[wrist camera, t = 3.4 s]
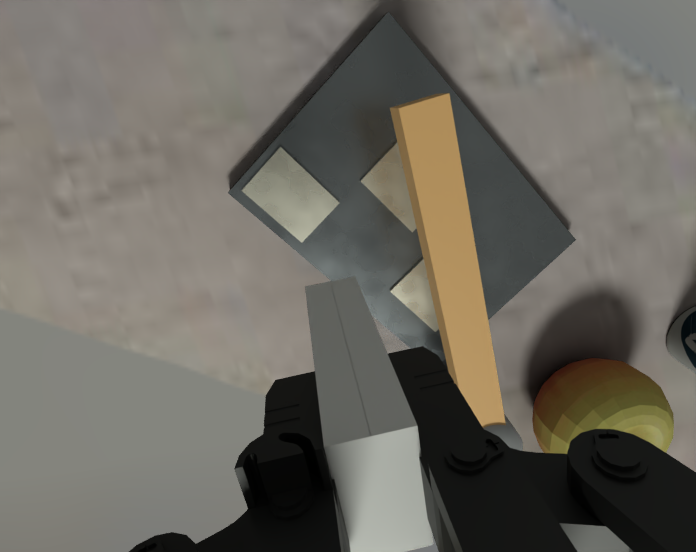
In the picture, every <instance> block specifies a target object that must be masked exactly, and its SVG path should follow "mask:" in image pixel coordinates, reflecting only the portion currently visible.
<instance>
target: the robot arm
mask: <svg viewBox="0 0 696 552" xmlns="http://www.w3.org/2000/svg"><path fill="white" fill-rule="evenodd" d="M305 290H306V299H307V307H308V316H309V324H310V333H311V341H312V350H313V358H314V367H315V371H314V372H310V373H305V374H301V375H296V376H292V377H287V378H283V379H278V380H275V382H274V383H273V385H272V387H271V388H270V390H269V391H268V393H267V395H266V402H265V418H264V427H265V428H264V434H263V435H262V436H260V437H258V438H257V439H255V440H254V441H252V442H251V443H250V444H249V445H248V446H247V447H246V448H245V450H244V451H243V452H242V453H241V454H240V455H239V458H238V460H237V463H236V466H235V472H236V475H237V478H238V481H239V484H240V486H241V489H242V492H243V495H244V498H245V501H246V503H247V507H248V510H247V511H246V512H245V513H244V514H243V515H242V516H241V517H240V518H239V519H237V520H236V521H235V522H234V523H232V524H231V525H229V526H228V527H226V528H224V529H223V530H221V531H219V532H217V533H215V534H214V535H212V536H210V537H208V538H206V539H205V540H202V541H201V542H199V543H197V544H195V543H194V542H193V541H192V540H191V539H190V538H189V537H188V536H187V535H183V534H178V533H172V532H171V533H166V534H162V535H157V536H154V537H152V538H150V539H148V540H146V541H144V542H142V543H140V544H138V545H136V546H135V547H134V548H133V549H132V550H130V551H129V552H406V551H410V550H414V549H418V548H422V547H426V546H430V545H433V537H432V533H433V536H434V539H435V541H436V545H437V547H438V550H439V552H696V472H694V471H693V470H691V469H690V468H688V467H687V466H685V465H683V464H682V463H680V462H679V461H677V460H676V459H674V458H673V457H671V456H670V455H668V454H667V453H665V452H664V451H662V450H661V449H659V448H658V447H656V446H655V445H653V444H652V443H650V442H648V441H646V440H644V439H642V438H640V437H638V436H636V435H634V434H631V433H627V432H623V431H619V430H615V429H593V430H589V431H586V432H582V433H580V434H579V435H577V436H576V437H575V438H574V439H573V440H571V442H570V445H569V448H568V452H567V454H563V453H534V452H526V451H520V450H517V449H513V448H510V447H509V446H508V445H507V444H506V443H505V442H504V441H503V440H502V439H501V438H500V437H499V436H497V435H495V434H493V433H491V432H489V431H487V430H484V429H483V427H482V426H481V424H480V422H479V421H478V419H477V417H476V416H475V414H474V413H473V411H472V409H471V408H470V406H469V404H468V403H467V401H466V400H465V398H464V396H463V395H462V393H461V391H460V390H459V388H458V387H457V385H456V384H455V383H454V380H453V378H452V377H451V375H450V374H449V372H447V369H446V367H445V365H444V364H443V362H442V361H441V359H440V357H439V356H438V355H437V354H435V353H433V352H432V351H430V350H428V349H427V348H425V347H424V346H421V347H417V348H412V349H407V350H403V351H398V352H394V353H389V354H387V351H386V349H385V346H384V344H383V342H382V339H381V337H380V334H379V332H378V330H377V327H376V325H375V322H374V320H373V318H372V315H371V313H370V310H369V308H368V306H367V303H366V301H365V298H364V296H363V294H362V291H361V289H360V286H359V284H358V282H357V279H356V277H355V276H354V277H349V278H344V279H340V280H335V281H330V282H325V283H320V284H315V285H311V286H306V287H305Z"/></svg>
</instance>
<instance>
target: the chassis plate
mask: <svg viewBox="0 0 696 552" xmlns="http://www.w3.org/2000/svg"><path fill="white" fill-rule="evenodd" d="M441 93H449V94H450V100H451V106H452V112H453V118H454V123H455V129H456V135H457V141H458V147H459V153H460V159H461V165H462V170H463V176H464V182H465V188H466V194H467V200H468V206H469V211H470V217H471V223H472V229H473V235H474V241H475V247H476V253H477V258H478V264H479V270H480V276H481V282H482V288H483V294H484V300H485V305H486V311H487V317H488V320H489V319H490V318H491V317H492V316H493V315H494V314H495V313H496V312H497V311H499V310H500V309H501V308H502V307H503V306H504V305H505V304H506V303H507V302H508V301H509V300H511V299H512V298H513V297H514V296H515V295H516V294H517V293H518V292H519V291H520V290H522V289H523V288H524V287H525V286H526V285H527V284H528V283H529V282H530V281H531V280H532V279H534V278H535V277H536V276H537V275H538V274H539V273H540V272H541V271H542V270H543V269H545V268H546V267H547V266H548V265H549V264H550V263H551V262H552V261H553V260H554V259H556V258H557V257H558V256H559V255H560V254H561V253H562V252H563V251H564V250H565V249H566V248H568V247H569V246H570V245H571V244H572V243H573V242H574V241H575V240H576V239H575V238H574V237H573V236H572V234H571V233H570V232H569V231H568V230H567V228H566V227H565V226H564V225H563V224H562V222H561V221H560V220H559V219H558V217H557V216H556V215H555V214H554V213H553V211H552V210H551V209H550V208H549V207H548V205H547V204H546V203H545V202H544V200H543V199H542V198H541V197H540V196H539V194H538V193H537V192H536V191H535V189H534V188H533V187H532V186H531V185H530V183H529V182H528V181H527V180H526V179H525V177H524V176H523V175H522V174H521V172H520V171H519V170H518V169H517V168H516V166H515V165H514V164H513V163H512V161H511V160H510V159H509V158H508V157H507V155H506V154H505V153H504V152H503V151H502V149H501V148H500V147H499V146H498V144H497V143H496V142H495V141H494V140H493V138H492V137H491V136H490V135H489V133H488V132H487V131H486V130H485V129H484V127H483V126H482V125H481V124H480V123H479V121H478V120H477V119H476V118H475V116H474V115H473V114H472V113H471V112H470V110H469V109H468V108H467V107H466V106H465V104H464V103H463V102H462V101H461V99H460V98H459V97H458V96H457V95H456V93H455V92H454V91H453V90H452V88H451V87H450V86H449V85H448V84H447V82H446V81H445V80H444V79H443V78H442V76H441V75H440V74H439V73H438V71H437V70H436V69H435V68H434V67H433V65H432V64H431V63H430V62H429V60H428V59H427V58H426V57H425V56H424V54H423V53H422V52H421V51H420V50H419V48H418V47H417V46H416V45H415V43H414V42H413V41H412V40H411V39H410V37H409V36H408V35H407V34H406V33H405V31H404V30H403V29H402V28H401V26H400V25H399V24H398V23H397V22H396V20H395V19H394V18H393V17H392V15H391V14H390V13H389V12H388V13H386V14H385V15H384V16H383V17H382V19H381V20H380V21H379V22H378V23H377V24H376V25H375V26H374V28H373V29H372V30H371V31H370V32H369V33H368V34H367V35H366V37H365V38H364V39H363V40H362V41H361V42H360V43H359V45H358V46H357V47H356V48H355V49H354V50H353V51H352V52H351V54H350V55H349V56H348V57H347V58H346V59H345V60H344V61H343V63H342V64H341V65H340V66H339V67H338V68H337V69H336V71H335V72H334V73H333V74H332V75H331V76H330V77H329V78H328V80H327V81H326V82H325V83H324V84H323V85H322V86H321V87H320V89H319V90H318V91H317V92H316V93H315V94H314V95H313V97H312V98H311V99H310V100H309V101H308V102H307V103H306V104H305V106H304V107H303V108H302V109H301V110H300V111H299V112H298V113H297V115H296V116H295V117H294V118H293V119H292V120H291V121H290V122H289V124H288V125H287V126H286V127H285V128H284V129H283V130H282V132H281V133H280V134H279V135H278V136H277V137H276V138H275V139H274V141H273V142H272V143H271V144H270V145H269V146H268V147H267V148H266V150H265V151H264V152H263V153H262V154H261V155H260V156H259V158H258V159H257V160H256V161H255V162H254V163H253V164H252V165H251V167H250V168H249V169H248V170H247V171H246V172H245V173H244V174H243V176H242V177H241V178H240V179H239V180H238V181H237V182H236V184H235V185H234V186H233V187H232V188H231V189H230V190H229V192H228V193H229V194H230V195H231V196H232V197H233V198H235V199H236V200H237V201H238V202H239V203H240V204H242V205H243V206H244V207H245V208H246V209H248V210H249V211H250V212H251V213H252V214H253V215H255V216H256V217H257V218H258V219H259V220H260V221H262V222H263V223H264V224H265V225H266V226H267V227H269V228H270V229H271V230H272V231H273V232H275V233H276V234H277V235H278V236H279V237H280V238H282V239H283V240H284V241H285V242H286V243H287V244H289V245H290V246H291V247H292V248H293V249H295V250H296V251H297V252H298V253H299V254H300V255H302V256H303V257H304V258H305V259H306V260H307V261H309V262H310V263H311V264H312V265H313V266H314V267H316V268H317V269H318V270H319V271H320V272H322V273H323V274H324V275H325V276H326V277H327V278H329V279H330V280H331V281H335V280H340V279H344V278H349V277H354V276H355V277H356V279H357V282H358V284H359V286H360V289H361V291H362V294H363V296H364V298H365V301H366V303H367V306H368V308H369V310H370V313H371V315H372V316H373V317H374V318H376V319H377V320H378V321H379V322H380V323H381V324H383V325H384V326H385V327H386V328H387V329H389V330H390V331H391V332H392V333H393V334H394V335H396V336H397V337H398V338H399V339H400V340H401V341H403V342H404V343H405V344H406V345H407V346H408V347H410V348H411V349H412V348H417V347H421V346H424V347H425V348H427V349H428V350H430V351H432V352H433V353H435V354H437V355H438V356H439V357H440V359H441V361H442V362H443V361H444V360H445V359H446V358H445V353H444V349H443V345H442V340H441V336H440V331H439V327H438V322H437V318H436V313H435V309H434V304H433V300H432V295H431V291H430V286H429V282H428V277H427V273H426V268H425V264H424V259H423V255H422V250H421V246H420V241H419V237H418V232H417V228H416V223H415V219H414V214H413V210H412V205H411V201H410V196H409V192H408V187H407V183H406V178H405V174H404V169H403V165H402V160H401V156H400V151H399V147H398V142H397V138H396V133H395V129H394V124H393V120H392V115H391V111H390V108H391V107H394V106H398V105H401V104H404V103H408V102H411V101H414V100H418V99H421V98H424V97H427V96H431V95H434V94H441Z"/></svg>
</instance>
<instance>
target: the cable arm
mask: <svg viewBox="0 0 696 552" xmlns="http://www.w3.org/2000/svg"><path fill="white" fill-rule="evenodd" d="M390 111H391V115H392V120H393V124H394V129H395V133H396V138H397V142H398V147H399V151H400V156H401V160H402V165H403V169H404V174H405V178H406V183H407V187H408V192H409V196H410V201H411V205H412V210H413V214H414V219H415V223H416V228H417V232H418V237H419V241H420V246H421V250H422V255H423V259H424V264H425V268H426V273H427V277H428V282H429V286H430V291H431V295H432V300H433V304H434V309H435V313H436V318H437V322H438V327H439V331H440V336H441V340H442V345H443V349H444V353H445V358H446V362H447V367H448V371H449V374H450V375H451V377H452V378H453V380H454V383H455V384H456V385H457V387H458V388H459V390H460V391H461V393H462V395H463V396H464V398H465V400H466V401H467V403H468V404H469V406H470V408H471V409H472V411H473V413H474V414H475V416H476V417H477V419H478V421H479V422H480V424H481V426H482V427H483V429H484V430H487V431H489V432H491V433H493V434H495V435H497V436H499V437H500V438H501V439H502V440H503V441H504V442H505V443H506V444H507V445H508V446H509V447H510V448H513V449H517V450H520V451H522V449H523V442H522V439H521V437H520V435H519V434H518V433H517V431H516V430H515V428H514V427H513V425H512V424H511V423H510V421H509V420H508V418H507V417H506V416H505V414H504V411H503V405H502V399H501V393H500V388H499V382H498V376H497V370H496V364H495V358H494V352H493V346H492V341H491V335H490V329H489V323H488V317H487V311H486V305H485V300H484V294H483V288H482V282H481V276H480V270H479V264H478V258H477V253H476V247H475V241H474V235H473V229H472V223H471V217H470V211H469V206H468V200H467V194H466V188H465V182H464V176H463V170H462V165H461V159H460V153H459V147H458V141H457V135H456V129H455V123H454V118H453V112H452V106H451V100H450V94H449V93H441V94H434V95H431V96H427V97H424V98H421V99H418V100H414V101H411V102H408V103H404V104H401V105H398V106H394V107H391V108H390Z"/></svg>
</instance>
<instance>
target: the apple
mask: <svg viewBox="0 0 696 552" xmlns="http://www.w3.org/2000/svg"><path fill="white" fill-rule="evenodd" d="M532 419H533V429H534V433H535V436H536V438H537V441H538V443H539V446H540V447H541V449H542V450H543V452H544V453H563V454H567V452H568V448H569V445H570V442H571V440H573V439H574V438H575V437H576V436H577V435H579V434H580V433H582V432H586V431H589V430H593V429H615V430H619V431H623V432H627V433H631V434H634V435H636V436H638V437H640V438H642V439H644V440H646V441H648V442H650V443H652V444H653V445H655V446H656V447H658V448H659V449H661V450H662V451H664V452H665V453H666V452H667V449H668V447H669V445H670V443H671V441H672V439H673V428H674V420H673V412H672V410H671V408H670V405H669V403H668V401H667V399H666V397H665V395H664V393H663V391H662V389H661V387H660V386H659V385H657V384H656V383H655V382H654V381H653V380H652V379H651V378H650V377H648V376H646V375H645V374H643V373H642V372H640V371H638V370H637V369H635V368H633V367H632V366H630V365H628V364H626V363H625V362H623V361H617V360H610V359H599V358H589V359H584V360H580V361H577V362H573V363H569V364H568V365H566V366H564V367H563V368H561V369H559V370H558V371H556V372H554V373H553V374H552V376H551V377H550V378H549V379H548V380H547V381H546V382H545V383H544V384H543V385H542V387H541V389H540V391H539V393H538V395H537V397H536V399H535V402H534V409H533V418H532Z"/></svg>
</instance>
